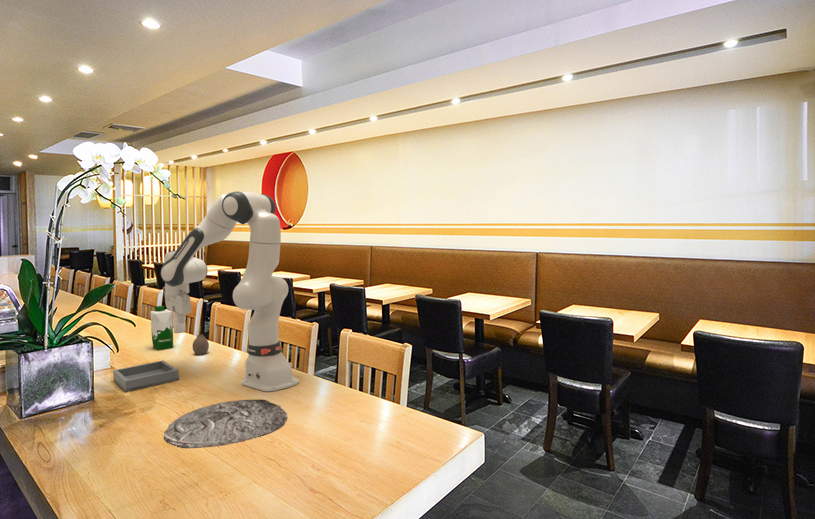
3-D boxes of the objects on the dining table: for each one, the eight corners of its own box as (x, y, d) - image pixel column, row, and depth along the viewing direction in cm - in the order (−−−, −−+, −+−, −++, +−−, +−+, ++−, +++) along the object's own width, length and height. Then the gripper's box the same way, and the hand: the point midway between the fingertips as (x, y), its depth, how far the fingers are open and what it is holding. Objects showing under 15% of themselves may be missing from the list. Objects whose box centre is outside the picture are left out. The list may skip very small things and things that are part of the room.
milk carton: (170, 344, 236) (167, 304, 234) (175, 347, 229) (173, 307, 227) (150, 347, 230) (148, 307, 228) (156, 351, 223) (153, 309, 222)
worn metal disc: (147, 424, 143) (146, 422, 143) (255, 393, 168) (255, 392, 168) (187, 463, 120) (187, 462, 120) (307, 421, 144) (307, 419, 144)
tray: (178, 379, 182) (178, 369, 182) (126, 392, 170) (125, 381, 170) (163, 369, 195) (163, 360, 195) (113, 380, 183) (112, 370, 183)
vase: (205, 355, 215) (204, 336, 214) (190, 355, 215) (189, 336, 214) (211, 351, 222) (210, 333, 221) (197, 351, 222) (196, 333, 221)
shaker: (187, 331, 198) (186, 305, 197) (175, 333, 195) (174, 307, 194) (183, 330, 201) (182, 304, 200) (172, 332, 198) (170, 306, 197)
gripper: (194, 290, 191) (196, 324, 192) (177, 286, 206) (178, 317, 207) (178, 292, 187) (179, 327, 188) (161, 287, 201) (163, 319, 203)
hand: (179, 322), depth 198 cm, fingers closed on shaker, 4 cm apart
